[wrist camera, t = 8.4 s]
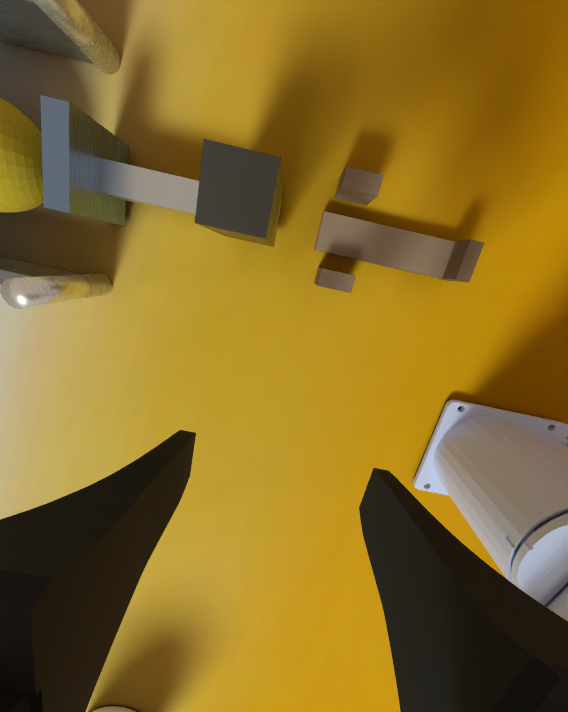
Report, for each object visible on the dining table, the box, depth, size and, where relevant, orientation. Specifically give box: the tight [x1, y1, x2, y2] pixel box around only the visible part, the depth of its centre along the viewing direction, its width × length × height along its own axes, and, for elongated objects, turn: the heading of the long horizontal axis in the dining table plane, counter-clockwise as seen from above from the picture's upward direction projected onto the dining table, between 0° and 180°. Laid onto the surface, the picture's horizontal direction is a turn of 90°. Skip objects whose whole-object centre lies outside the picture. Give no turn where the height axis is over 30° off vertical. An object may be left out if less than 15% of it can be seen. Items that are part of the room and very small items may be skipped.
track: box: [314, 166, 484, 293], centre depth 18 cm, size 9×6×2 cm
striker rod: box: [40, 95, 284, 247], centre depth 15 cm, size 11×4×7 cm, turn 78°
